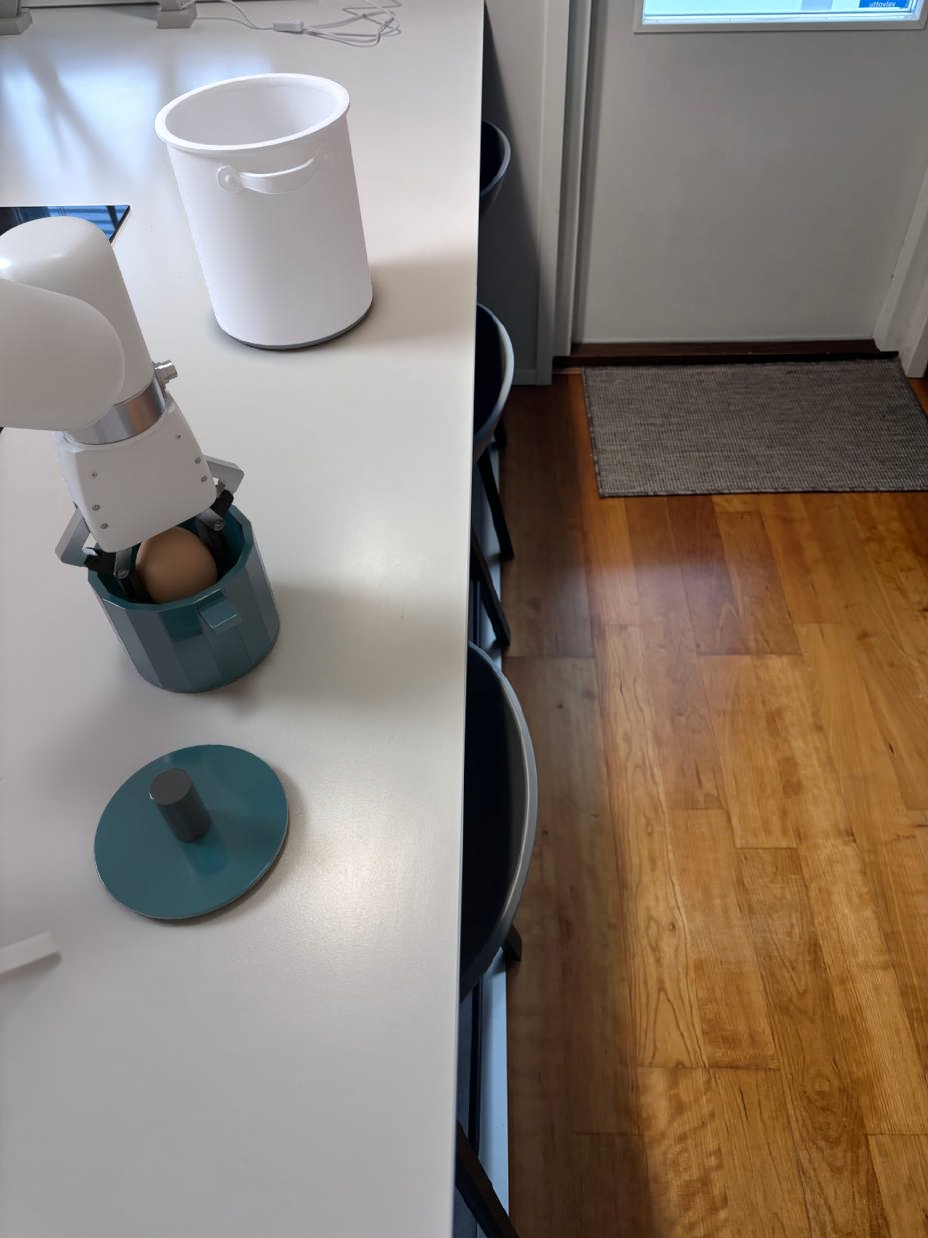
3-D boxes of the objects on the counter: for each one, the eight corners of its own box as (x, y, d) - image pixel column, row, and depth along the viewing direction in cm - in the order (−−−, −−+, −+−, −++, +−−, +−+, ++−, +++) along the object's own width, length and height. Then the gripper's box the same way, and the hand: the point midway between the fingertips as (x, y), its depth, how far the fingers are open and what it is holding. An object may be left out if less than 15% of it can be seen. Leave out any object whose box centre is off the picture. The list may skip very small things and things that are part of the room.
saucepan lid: (147, 964, 66) (115, 924, 61) (69, 820, 74) (35, 774, 69) (325, 844, 71) (309, 797, 66) (234, 721, 79) (214, 672, 74)
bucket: (407, 336, 117) (381, 127, 99) (235, 382, 113) (175, 173, 95) (347, 247, 133) (315, 54, 115) (195, 285, 129) (137, 90, 111)
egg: (136, 612, 82) (104, 543, 76) (189, 567, 86) (162, 497, 80) (189, 641, 80) (160, 571, 74) (242, 593, 83) (218, 523, 77)
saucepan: (183, 739, 78) (143, 659, 71) (94, 610, 89) (50, 528, 81) (322, 657, 83) (299, 573, 76) (222, 544, 94) (193, 460, 86)
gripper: (195, 336, 73) (248, 512, 86) (-28, 427, 66) (67, 603, 80) (241, 377, 69) (290, 556, 82) (8, 479, 62) (101, 655, 75)
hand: (179, 578), depth 81 cm, fingers closed on egg, 6 cm apart
